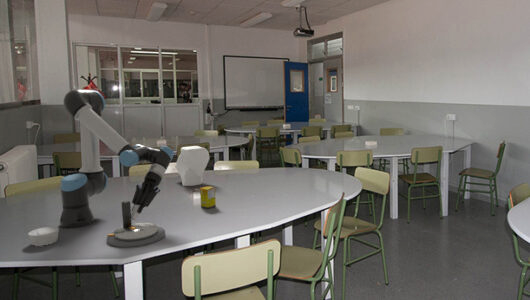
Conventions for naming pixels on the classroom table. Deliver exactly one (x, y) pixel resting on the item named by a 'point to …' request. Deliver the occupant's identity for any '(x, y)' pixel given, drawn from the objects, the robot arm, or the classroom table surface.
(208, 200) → the supplement box
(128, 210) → the dial
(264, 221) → the classroom table surface
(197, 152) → the white faceted lump
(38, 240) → the ramekin
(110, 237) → the base plate
